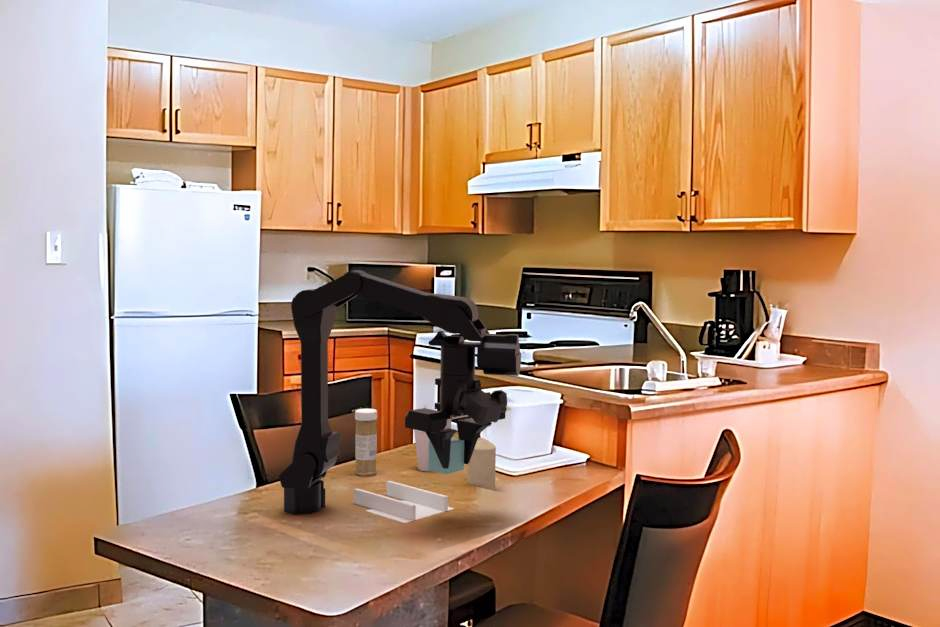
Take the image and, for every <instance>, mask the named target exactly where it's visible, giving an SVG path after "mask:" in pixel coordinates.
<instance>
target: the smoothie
mask: <svg viewBox="0 0 940 627" xmlns="http://www.w3.org/2000/svg"><path fill="white" fill-rule="evenodd" d="M423 408H426V409H428V408H427V404H426V403H424V404H423ZM412 430H413V431H414V432H413V433H414V441H415V450H416V459H417V460H416V461H417V467H418V468H417V469H418V471H421V472H430V471H429V470H428V464H429V441H430V440H429V438H428V436H427V434H426V433H425V432H424V431H419V430H415V429H412Z"/></svg>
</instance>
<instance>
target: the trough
mask: <svg viewBox="0 0 940 627" xmlns="http://www.w3.org/2000/svg"><path fill="white" fill-rule="evenodd" d="M385 486H386V487H385V490H386V495H382V494H378V493H374V492H372V491H368V490H364V489H361V488H359V487H358V488H353V504H355V505H359V506H361V507H365V508H369V509H367V510H366V509H365V510H364V512H367V513H370V514H374V515H377V516H381V517H384V518H387V519H389V520H393V521H397V522H400V523H403V524H406V523H410V522H414V521H417V520H420V519H424V518H428V517H431V516H434V515H438V514H442V513H445V512H447V511H451V510H454V509H455V508H454V507H451V506H449V496H448V495H444V494H440V493H437V492H434V491H430V490H426V489H422V488H419V487H414V486H411V485H407V484H404V483H400V482H396V481H393V480H387V481H386V485H385ZM388 496H389V497H388ZM392 497H393V498H392Z"/></svg>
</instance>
